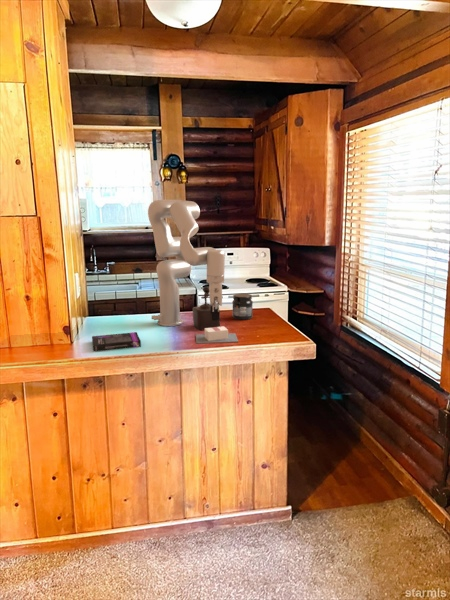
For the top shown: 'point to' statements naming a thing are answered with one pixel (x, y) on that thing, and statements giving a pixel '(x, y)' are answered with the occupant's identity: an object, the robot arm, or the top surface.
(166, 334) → the top surface
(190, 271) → the robot arm
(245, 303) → the supplement container
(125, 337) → the box
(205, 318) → the vintage coffee grinder
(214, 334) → the card box
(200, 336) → the mat
